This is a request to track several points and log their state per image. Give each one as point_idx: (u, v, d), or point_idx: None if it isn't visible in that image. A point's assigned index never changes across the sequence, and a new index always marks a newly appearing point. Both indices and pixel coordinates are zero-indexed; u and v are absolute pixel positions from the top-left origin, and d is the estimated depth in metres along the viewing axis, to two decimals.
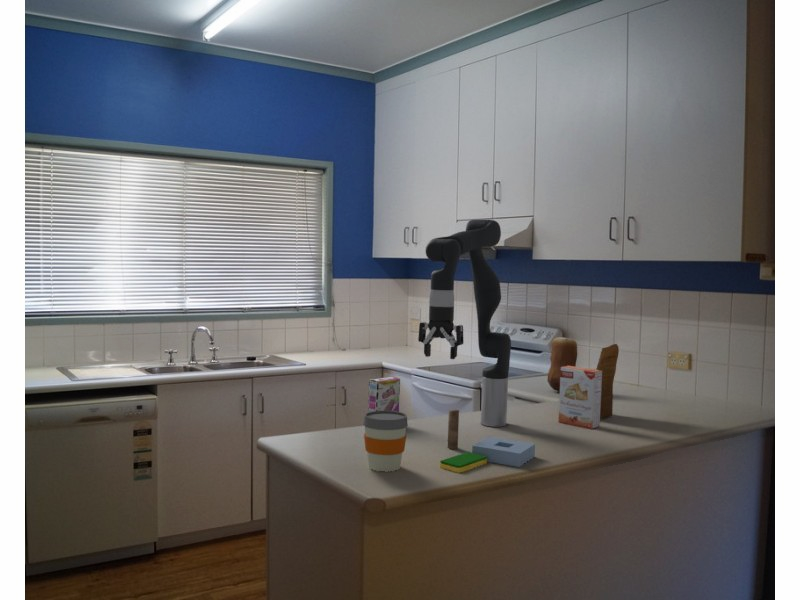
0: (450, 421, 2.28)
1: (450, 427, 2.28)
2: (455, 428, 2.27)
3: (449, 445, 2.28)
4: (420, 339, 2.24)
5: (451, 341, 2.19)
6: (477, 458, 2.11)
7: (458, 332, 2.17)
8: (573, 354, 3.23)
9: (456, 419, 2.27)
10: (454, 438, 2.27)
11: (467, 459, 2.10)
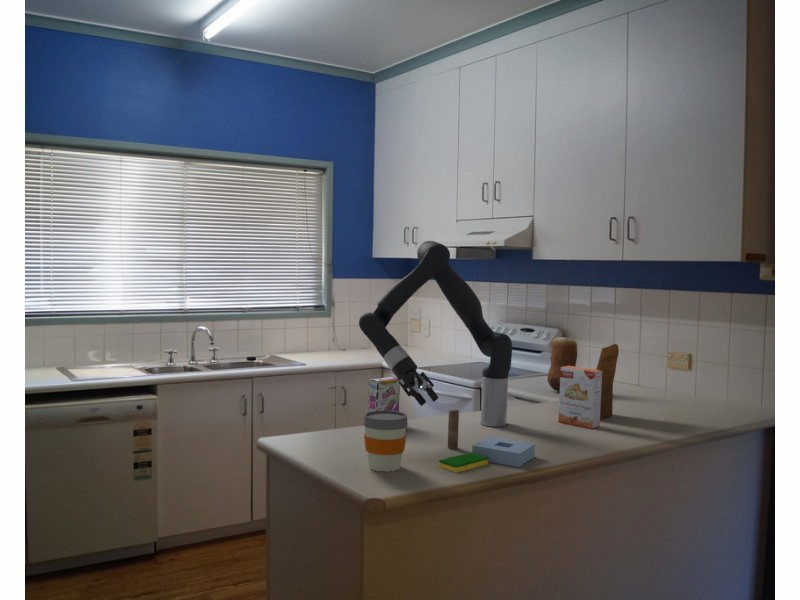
0: (450, 421, 2.28)
1: (450, 427, 2.28)
2: (455, 428, 2.27)
3: (449, 445, 2.28)
4: None
5: None
6: (477, 458, 2.11)
7: None
8: (573, 354, 3.23)
9: (456, 419, 2.27)
10: (454, 438, 2.27)
11: (467, 459, 2.10)
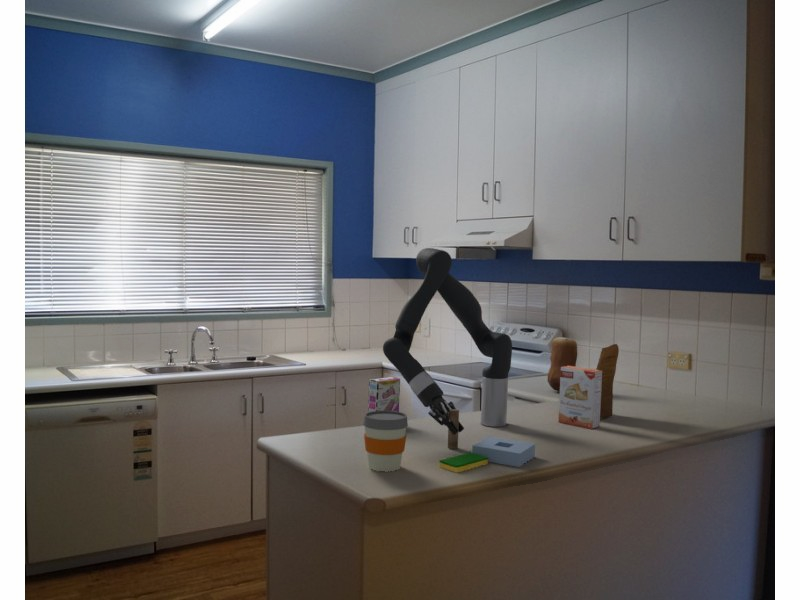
0: None
1: None
2: None
3: (449, 445, 2.28)
4: None
5: None
6: (477, 458, 2.11)
7: None
8: (573, 354, 3.23)
9: (456, 419, 2.27)
10: (454, 438, 2.27)
11: (467, 459, 2.10)
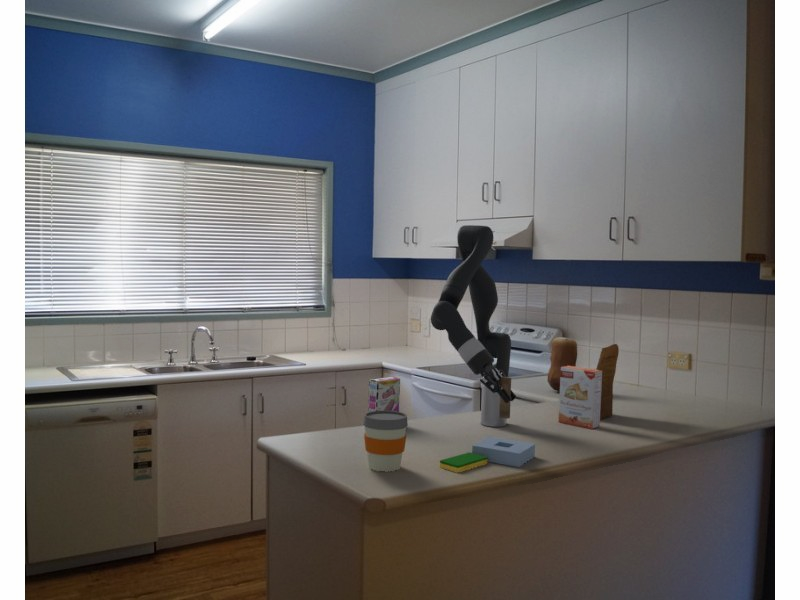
0: None
1: None
2: None
3: (501, 414, 2.18)
4: None
5: None
6: (477, 458, 2.11)
7: None
8: (573, 354, 3.23)
9: (508, 387, 2.17)
10: (506, 407, 2.17)
11: (467, 459, 2.10)
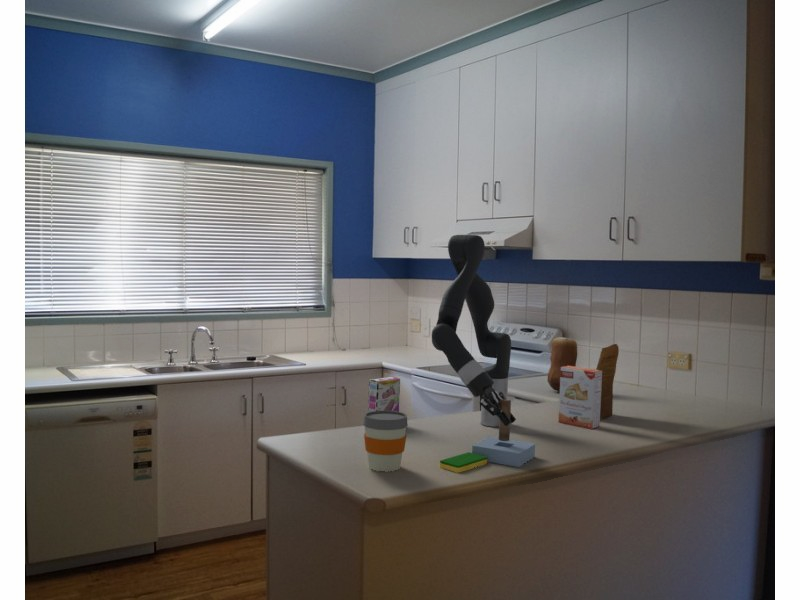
0: None
1: None
2: None
3: (500, 437, 2.18)
4: None
5: None
6: (477, 458, 2.11)
7: None
8: (573, 354, 3.23)
9: (508, 409, 2.17)
10: (506, 430, 2.17)
11: (467, 459, 2.10)
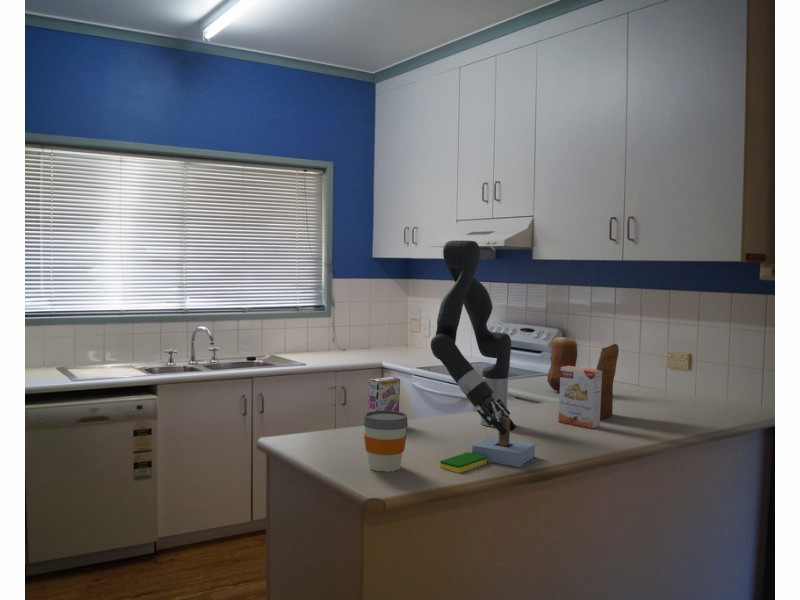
0: None
1: (501, 436, 2.18)
2: (506, 437, 2.18)
3: None
4: None
5: None
6: (477, 458, 2.11)
7: None
8: (573, 354, 3.23)
9: (507, 428, 2.18)
10: None
11: (467, 459, 2.10)
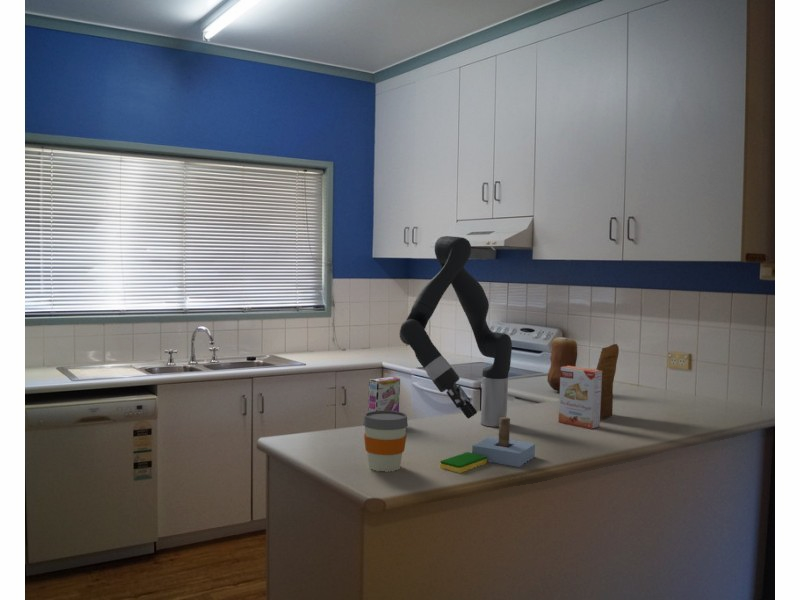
0: (501, 430, 2.18)
1: (501, 436, 2.18)
2: (506, 437, 2.18)
3: None
4: None
5: None
6: (477, 458, 2.11)
7: (450, 397, 2.21)
8: (573, 354, 3.23)
9: (507, 428, 2.18)
10: None
11: (467, 459, 2.10)
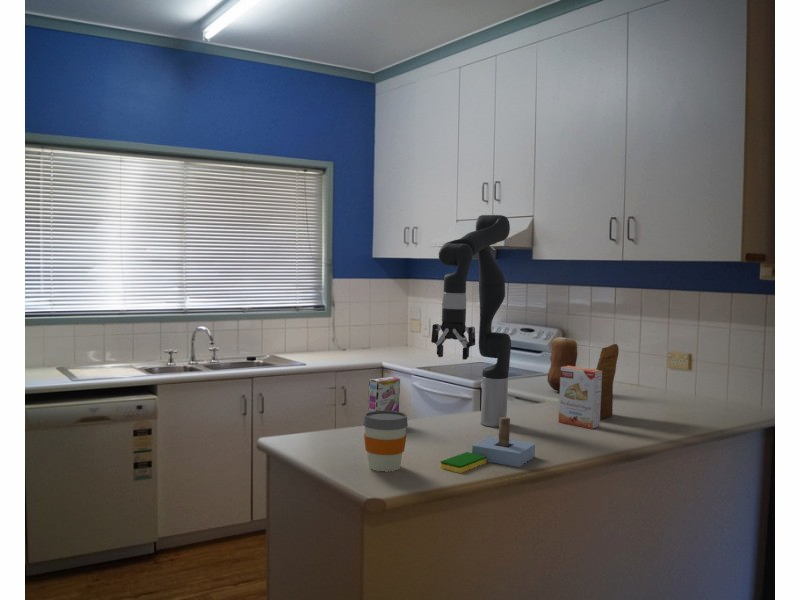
0: (501, 430, 2.18)
1: (501, 436, 2.18)
2: (506, 437, 2.18)
3: None
4: (433, 340, 2.32)
5: (463, 342, 2.27)
6: (477, 458, 2.11)
7: (470, 333, 2.25)
8: (573, 354, 3.23)
9: (507, 428, 2.18)
10: None
11: (467, 459, 2.10)
